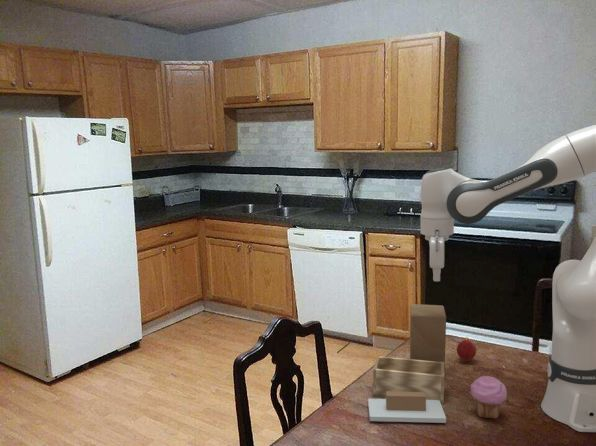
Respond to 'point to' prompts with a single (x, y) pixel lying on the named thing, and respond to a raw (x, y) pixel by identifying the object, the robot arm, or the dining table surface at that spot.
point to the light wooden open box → (408, 377)
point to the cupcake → (488, 396)
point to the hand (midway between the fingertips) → (436, 275)
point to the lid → (406, 408)
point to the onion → (466, 350)
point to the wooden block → (427, 333)
